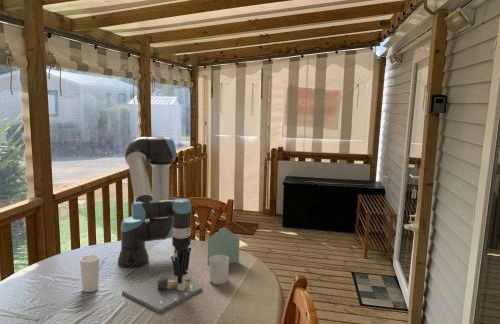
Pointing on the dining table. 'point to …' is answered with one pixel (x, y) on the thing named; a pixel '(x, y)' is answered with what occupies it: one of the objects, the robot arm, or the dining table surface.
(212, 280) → the mug
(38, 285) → the dining table surface
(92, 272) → the cup
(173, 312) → the dining table surface
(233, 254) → the teal house-shaped block
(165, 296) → the dial board
